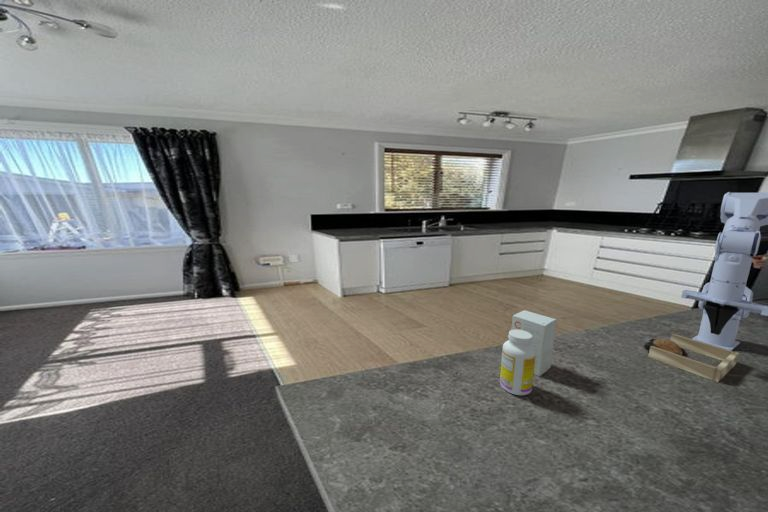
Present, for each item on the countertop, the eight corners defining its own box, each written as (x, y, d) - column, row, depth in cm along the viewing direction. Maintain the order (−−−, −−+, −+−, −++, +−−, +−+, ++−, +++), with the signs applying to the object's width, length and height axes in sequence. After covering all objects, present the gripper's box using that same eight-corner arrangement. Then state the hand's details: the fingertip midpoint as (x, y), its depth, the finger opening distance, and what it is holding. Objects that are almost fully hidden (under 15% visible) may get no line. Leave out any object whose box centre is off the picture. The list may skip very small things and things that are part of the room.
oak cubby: (670, 343, 89) (672, 333, 89) (736, 363, 78) (739, 353, 78) (648, 356, 81) (650, 346, 81) (718, 382, 70) (720, 370, 70)
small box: (551, 368, 75) (557, 319, 73) (539, 377, 71) (546, 325, 69) (519, 354, 81) (524, 309, 79) (507, 362, 77) (512, 315, 75)
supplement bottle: (531, 383, 69) (537, 330, 67) (532, 400, 63) (538, 343, 61) (500, 375, 72) (505, 325, 69) (498, 391, 66) (503, 337, 63)
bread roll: (646, 342, 91) (648, 330, 90) (685, 352, 85) (688, 340, 84) (641, 353, 84) (643, 341, 83) (683, 366, 78) (686, 352, 77)
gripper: (681, 275, 77) (671, 325, 79) (772, 291, 65) (756, 349, 67) (691, 272, 80) (681, 320, 83) (779, 286, 68) (763, 342, 71)
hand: (715, 333), depth 75 cm, fingers closed
